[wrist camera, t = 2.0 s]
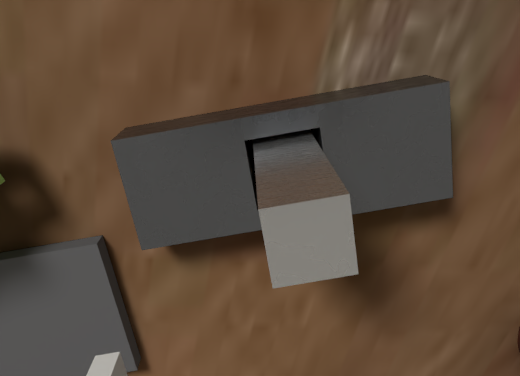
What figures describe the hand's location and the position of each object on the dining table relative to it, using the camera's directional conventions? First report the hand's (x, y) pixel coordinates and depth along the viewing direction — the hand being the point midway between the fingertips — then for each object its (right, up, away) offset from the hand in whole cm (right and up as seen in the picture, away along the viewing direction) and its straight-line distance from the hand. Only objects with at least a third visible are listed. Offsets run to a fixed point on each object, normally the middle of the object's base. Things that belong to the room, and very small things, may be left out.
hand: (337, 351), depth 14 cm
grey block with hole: (-1, +8, +21) cm, 22 cm away
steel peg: (-1, +8, +21) cm, 22 cm away
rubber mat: (-20, -5, +24) cm, 32 cm away
